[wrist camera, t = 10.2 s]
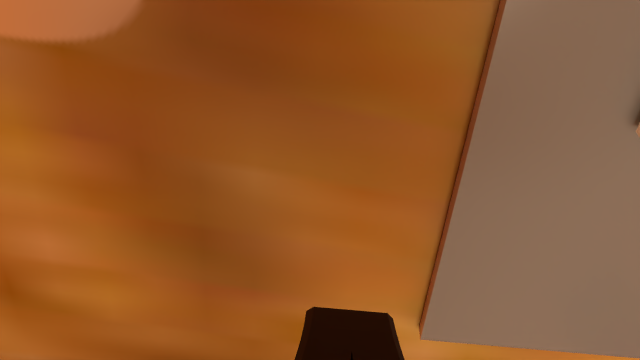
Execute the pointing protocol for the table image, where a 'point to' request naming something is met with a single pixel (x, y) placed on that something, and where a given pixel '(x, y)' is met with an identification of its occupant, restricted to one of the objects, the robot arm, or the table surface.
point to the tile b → (638, 130)
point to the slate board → (548, 188)
